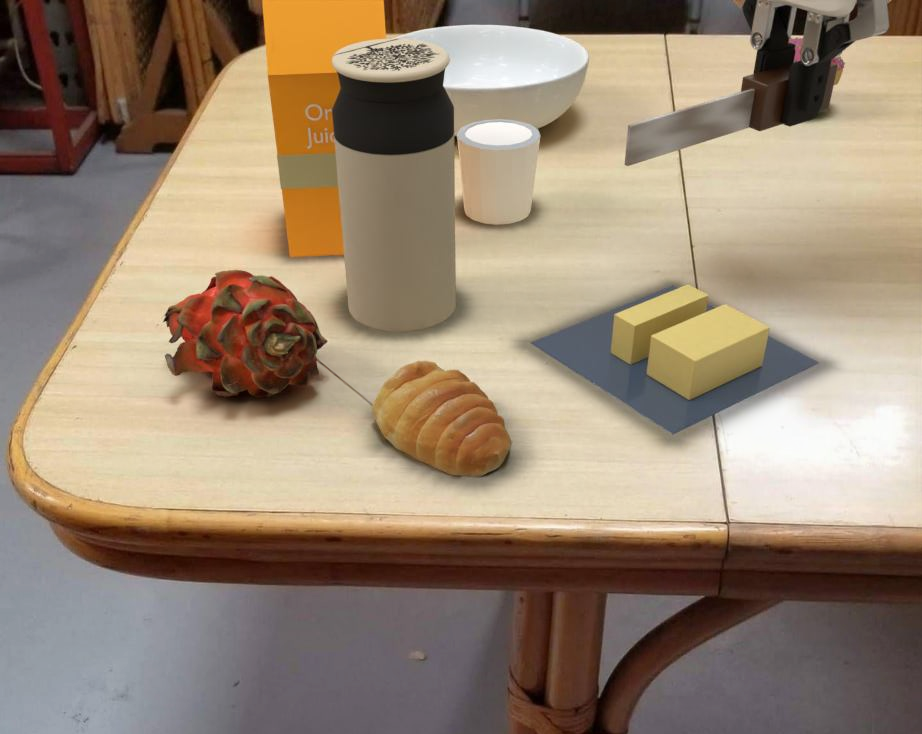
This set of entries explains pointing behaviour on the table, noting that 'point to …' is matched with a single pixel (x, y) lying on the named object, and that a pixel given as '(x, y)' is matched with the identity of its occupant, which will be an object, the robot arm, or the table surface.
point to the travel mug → (396, 182)
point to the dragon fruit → (245, 335)
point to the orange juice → (311, 109)
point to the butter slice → (653, 321)
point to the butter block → (707, 351)
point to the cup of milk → (498, 169)
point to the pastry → (441, 420)
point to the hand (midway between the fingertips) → (782, 112)
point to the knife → (717, 116)
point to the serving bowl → (508, 72)
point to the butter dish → (631, 385)
